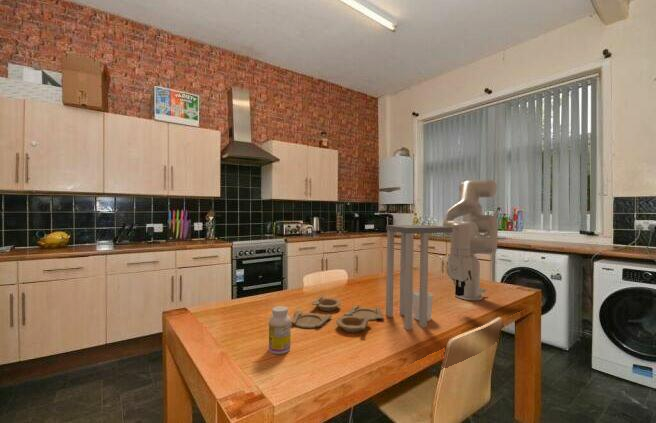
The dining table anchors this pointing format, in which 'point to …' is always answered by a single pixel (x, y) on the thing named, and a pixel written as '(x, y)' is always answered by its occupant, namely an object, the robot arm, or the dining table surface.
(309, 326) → the tableware set
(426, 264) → the grey tall stool
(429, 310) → the white cup
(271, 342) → the supplement bottle
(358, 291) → the dining table surface
